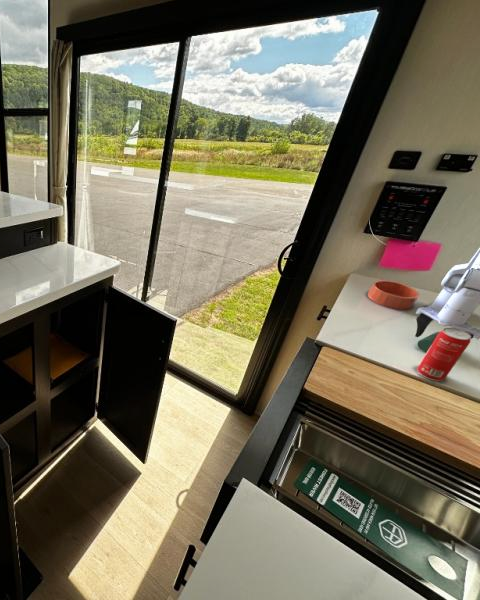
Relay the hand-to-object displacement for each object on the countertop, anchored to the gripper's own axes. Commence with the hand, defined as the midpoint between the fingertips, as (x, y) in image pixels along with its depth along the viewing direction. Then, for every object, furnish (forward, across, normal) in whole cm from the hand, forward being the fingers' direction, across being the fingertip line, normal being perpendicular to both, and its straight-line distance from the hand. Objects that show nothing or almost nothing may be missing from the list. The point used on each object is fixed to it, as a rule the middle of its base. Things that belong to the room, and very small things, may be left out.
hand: (432, 342), depth 100 cm
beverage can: (+2, +6, -15) cm, 16 cm away
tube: (+1, 0, 0) cm, 1 cm away
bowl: (+1, -21, +19) cm, 28 cm away
